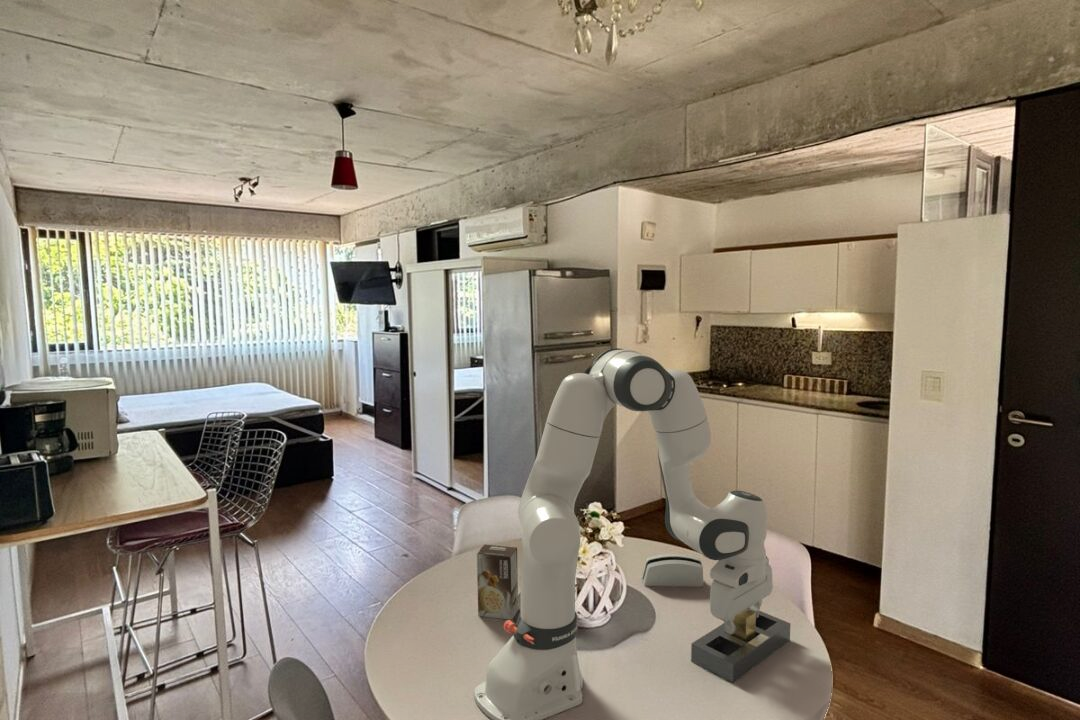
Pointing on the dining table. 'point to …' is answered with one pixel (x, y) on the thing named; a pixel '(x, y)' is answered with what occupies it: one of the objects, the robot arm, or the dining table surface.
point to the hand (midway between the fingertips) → (742, 625)
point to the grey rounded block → (673, 571)
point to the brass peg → (745, 625)
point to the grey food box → (497, 581)
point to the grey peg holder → (739, 648)
